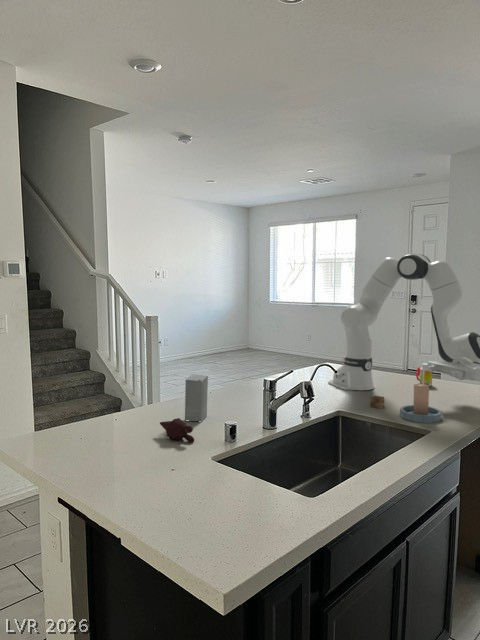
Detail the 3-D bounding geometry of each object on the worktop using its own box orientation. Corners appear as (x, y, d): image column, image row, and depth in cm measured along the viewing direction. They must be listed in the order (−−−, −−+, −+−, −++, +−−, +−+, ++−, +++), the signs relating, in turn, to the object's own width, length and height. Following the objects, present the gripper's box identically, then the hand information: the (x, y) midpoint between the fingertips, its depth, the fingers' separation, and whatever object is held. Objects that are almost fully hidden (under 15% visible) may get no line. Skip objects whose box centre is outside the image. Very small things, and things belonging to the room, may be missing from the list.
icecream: (150, 418, 152) (183, 431, 143) (166, 408, 158) (199, 420, 149) (153, 437, 155) (186, 451, 146) (169, 426, 160) (202, 439, 151)
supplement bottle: (434, 385, 224) (434, 364, 223) (428, 387, 220) (428, 365, 219) (423, 383, 228) (423, 362, 227) (417, 385, 225) (417, 363, 224)
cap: (411, 372, 239) (417, 367, 234) (419, 367, 242) (425, 362, 237) (420, 385, 237) (427, 381, 232) (428, 380, 240) (435, 376, 234)
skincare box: (191, 415, 178) (190, 373, 176) (209, 416, 176) (208, 374, 175) (183, 422, 170) (183, 378, 168) (202, 423, 168) (202, 379, 167)
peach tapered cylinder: (410, 414, 175) (410, 384, 174) (419, 411, 177) (419, 383, 176) (422, 417, 170) (422, 387, 169) (431, 415, 173) (432, 385, 172)
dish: (392, 415, 176) (392, 408, 176) (417, 409, 183) (417, 403, 183) (424, 425, 164) (424, 418, 164) (449, 418, 171) (449, 411, 171)
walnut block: (370, 407, 187) (370, 397, 187) (374, 405, 190) (374, 395, 190) (380, 409, 185) (380, 399, 184) (384, 406, 188) (384, 397, 188)
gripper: (440, 355, 195) (418, 358, 187) (488, 365, 177) (465, 368, 170) (439, 370, 195) (417, 374, 188) (486, 381, 178) (464, 385, 171)
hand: (440, 371), depth 179 cm, fingers open, 8 cm apart
